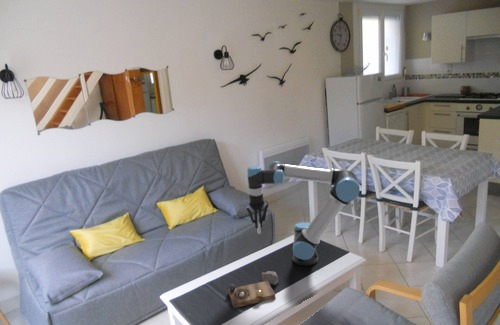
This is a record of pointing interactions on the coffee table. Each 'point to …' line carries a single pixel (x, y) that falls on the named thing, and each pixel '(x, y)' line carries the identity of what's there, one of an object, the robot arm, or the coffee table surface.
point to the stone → (270, 277)
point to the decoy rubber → (232, 287)
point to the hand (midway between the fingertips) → (259, 232)
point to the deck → (251, 294)
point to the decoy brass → (259, 293)
